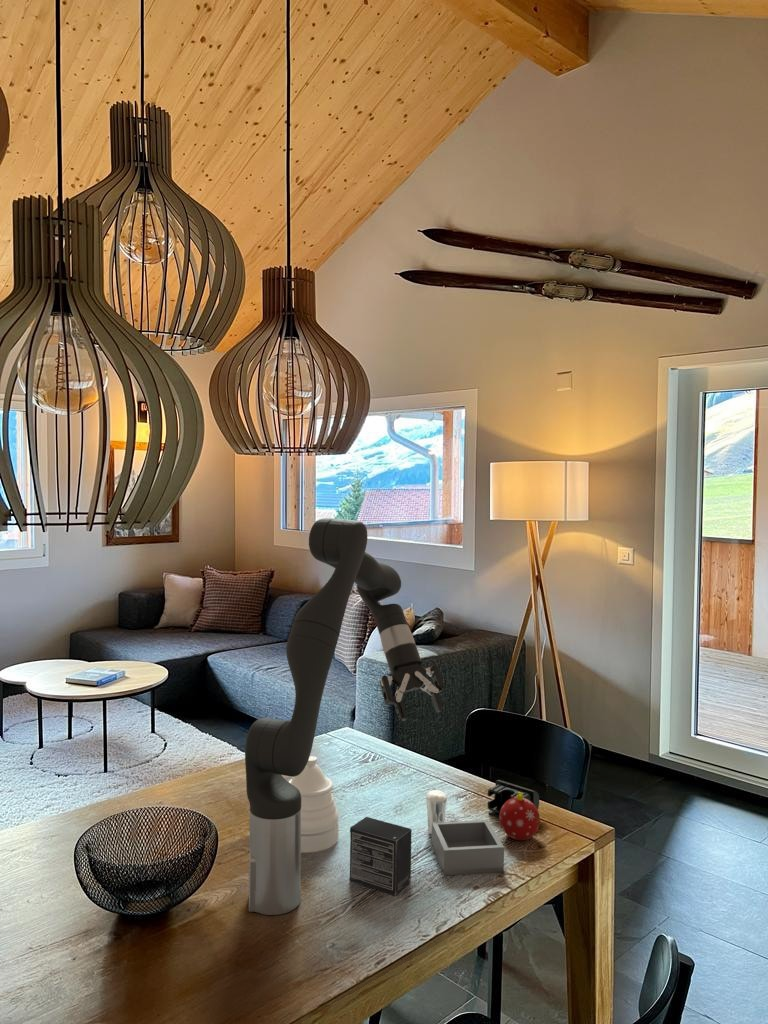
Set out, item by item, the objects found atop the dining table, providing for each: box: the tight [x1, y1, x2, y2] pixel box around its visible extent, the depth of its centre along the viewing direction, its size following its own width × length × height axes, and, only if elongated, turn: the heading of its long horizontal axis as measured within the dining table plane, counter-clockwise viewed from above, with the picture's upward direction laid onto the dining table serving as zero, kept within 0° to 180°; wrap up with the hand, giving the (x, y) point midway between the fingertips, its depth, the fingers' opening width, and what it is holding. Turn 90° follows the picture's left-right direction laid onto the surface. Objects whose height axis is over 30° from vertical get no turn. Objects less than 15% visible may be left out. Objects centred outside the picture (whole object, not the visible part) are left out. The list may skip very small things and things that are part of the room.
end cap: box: [487, 779, 540, 819], centre depth 176 cm, size 10×7×7 cm
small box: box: [348, 816, 412, 896], centre depth 147 cm, size 11×6×10 cm, turn 59°
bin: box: [431, 819, 505, 876], centre depth 156 cm, size 12×12×5 cm
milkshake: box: [425, 789, 450, 836], centre depth 167 cm, size 4×5×10 cm
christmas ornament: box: [498, 792, 541, 841], centre depth 165 cm, size 9×9×10 cm
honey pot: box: [287, 755, 340, 854], centre depth 163 cm, size 13×13×18 cm
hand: (422, 715), depth 171 cm, fingers open, 8 cm apart
